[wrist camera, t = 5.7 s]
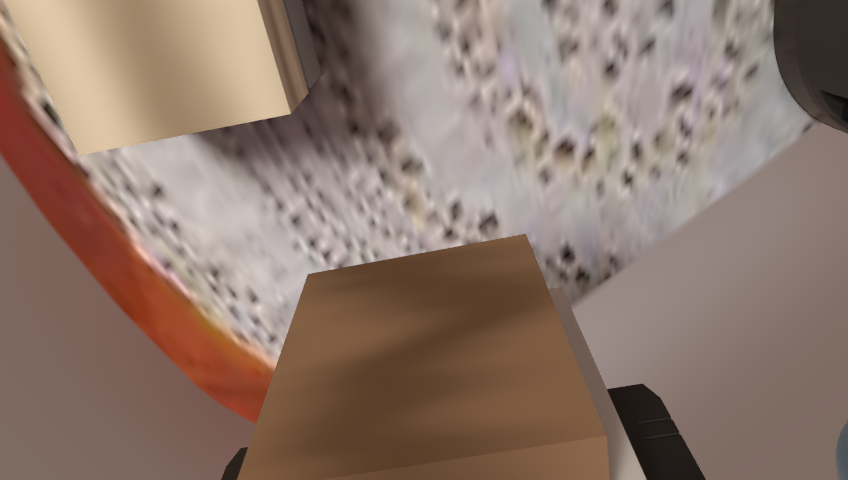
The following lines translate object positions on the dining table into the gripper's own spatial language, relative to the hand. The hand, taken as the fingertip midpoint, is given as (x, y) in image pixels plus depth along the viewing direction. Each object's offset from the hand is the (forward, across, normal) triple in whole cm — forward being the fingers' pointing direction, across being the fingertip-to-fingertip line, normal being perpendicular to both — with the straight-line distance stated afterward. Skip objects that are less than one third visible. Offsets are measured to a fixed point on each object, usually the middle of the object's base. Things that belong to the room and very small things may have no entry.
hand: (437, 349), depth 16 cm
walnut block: (0, 0, 0) cm, 0 cm away
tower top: (+13, +9, -10) cm, 19 cm away
